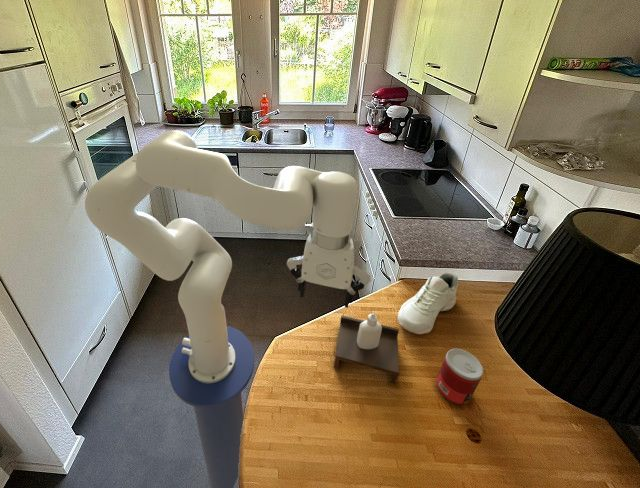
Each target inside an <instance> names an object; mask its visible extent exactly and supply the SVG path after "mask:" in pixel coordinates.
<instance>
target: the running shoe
mask: <svg viewBox="0 0 640 488" xmlns="http://www.w3.org/2000/svg"><path fill="white" fill-rule="evenodd" d="M458 284H459V277H458V276H457V275H456V274H453V273H451V272H443V273H442V274H441V275H437V276H429V277H428V278H427V280H426V282H425V284H423V286H422V287H421V288H420V289H419V290H418V291H417V293H416V294H415V295H413V296H411V298H409V299H407V300H406V301H404V303H403V304H402V305H401V306H400V309H399V311H398V313H397V321H398V324H399V325H400V326H401V327H402V328H403V329H404V330H406V331H407V332H410V333H411V334H412V333H413V334H415V335H424V334H428V333H430V332H431V331H432V330H433V328H434V325H435V321H436V319H437V318H438V315H439V313H440V312H445V311H446V312H447V311H450V310H451V309H453V307H455V305H456V302H457V291H458Z"/></svg>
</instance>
